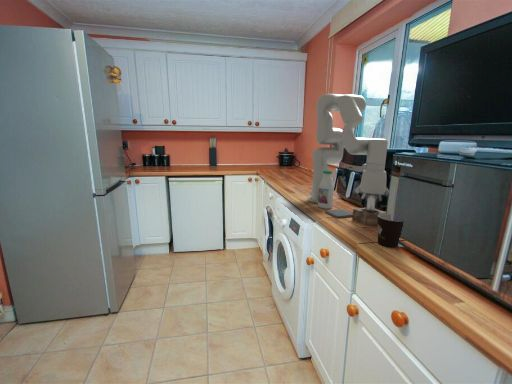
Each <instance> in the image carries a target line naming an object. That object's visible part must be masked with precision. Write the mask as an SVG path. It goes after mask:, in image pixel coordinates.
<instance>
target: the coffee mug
mask: <svg viewBox="0 0 512 384" xmlns="http://www.w3.org/2000/svg"><path fill="white" fill-rule="evenodd" d="M391 214H392V213H388V214H379V215H378V225H377V244H378V245H379V246H381V247H383V248H386V249H387V248H388V249H396V248H398V246H399V244H400V240H399V238H400V239H401V237H400V235H401V236H402V233H401V231H402V232H403V230H402V227H403V228H404V226H403V222H404V221H392V220H391ZM398 241H399V242H398Z"/></svg>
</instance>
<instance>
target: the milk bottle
mask: <svg viewBox="0 0 512 384" xmlns="http://www.w3.org/2000/svg"><path fill="white" fill-rule="evenodd" d="M332 176H333V171H332V170H330V169H329V170H324V171H323V178H322V180H321V182H320V185H319V195H318V203H317V207H318V208H321V209H324V210H325V209H326V210H327V209H329V210H331V209H333V206H334V204H333V202H334V195H335V194H334V192H335V189H334V188H335V184H334V181H333V179H332Z"/></svg>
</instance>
